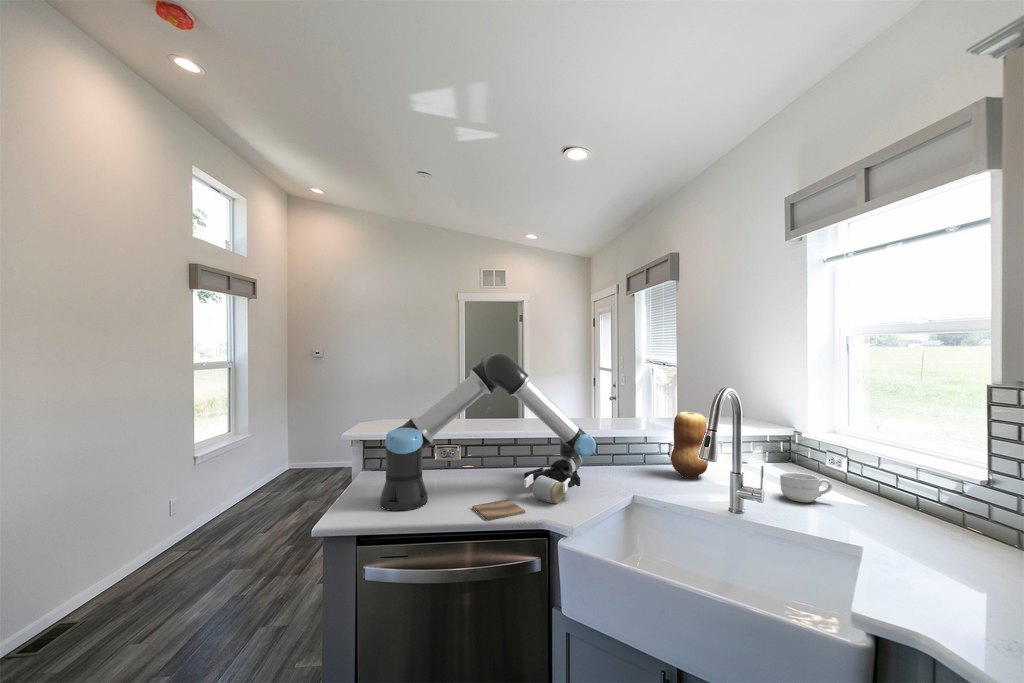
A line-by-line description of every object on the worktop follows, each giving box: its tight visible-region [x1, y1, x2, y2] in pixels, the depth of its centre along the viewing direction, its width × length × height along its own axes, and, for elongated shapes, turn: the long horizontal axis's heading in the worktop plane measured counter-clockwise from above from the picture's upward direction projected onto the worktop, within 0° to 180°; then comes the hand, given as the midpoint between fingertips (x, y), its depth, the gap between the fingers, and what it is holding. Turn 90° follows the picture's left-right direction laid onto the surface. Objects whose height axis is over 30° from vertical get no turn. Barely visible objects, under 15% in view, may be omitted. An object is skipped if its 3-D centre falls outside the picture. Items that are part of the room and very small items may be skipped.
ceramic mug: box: [532, 476, 566, 505], centre depth 142 cm, size 11×8×8 cm
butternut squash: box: [669, 411, 709, 478], centre depth 168 cm, size 14×13×25 cm
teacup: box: [779, 472, 833, 503], centre depth 139 cm, size 14×11×8 cm
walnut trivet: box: [472, 499, 526, 522], centre depth 133 cm, size 12×13×1 cm
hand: (544, 485), depth 138 cm, fingers open, 12 cm apart
